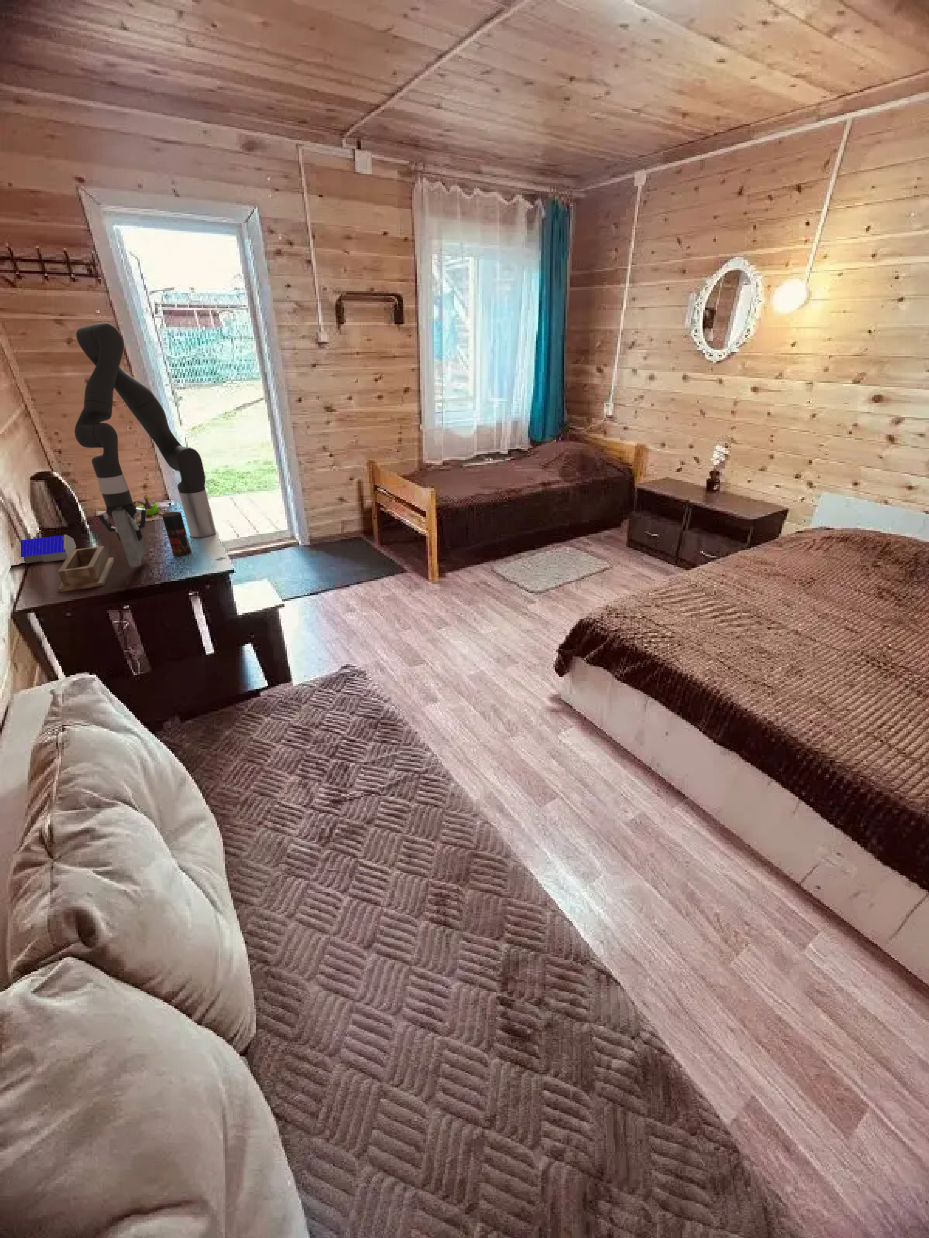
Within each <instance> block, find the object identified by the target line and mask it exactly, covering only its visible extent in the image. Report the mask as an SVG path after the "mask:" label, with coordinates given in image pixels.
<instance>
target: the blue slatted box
mask: <svg viewBox="0 0 929 1238" xmlns="http://www.w3.org/2000/svg"><path fill="white" fill-rule="evenodd" d="M20 540H21V557H24V561H25V562H26V564H30V563H37V562H44V563H48V562H56V561H65V560H66V559H67V557H68V555H69V554H70V552H71V551H72V550H75V549H76V548H77V545H76V542H75V539H74V538H73V537H71V536H69V535H68V534H62V535H56V536H55V535H54V536H46V537H44V536H43V537H37V538H34V537H33V538H30V537H26V539H20Z"/></svg>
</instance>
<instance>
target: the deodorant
mask: <svg viewBox="0 0 929 1238" xmlns="http://www.w3.org/2000/svg"><path fill="white" fill-rule="evenodd" d="M162 517H163V519H162V520H163V523H164V526H165V531H166V534H167V538H168V540H169V541H168V542H169V545H170V548H171V552H172V554H173V557H176V558H180V557H185V556H189V555H191V554H192V549H191V546H190V542H189V538H188V533H187V532H186V531H187V530H186V527H185V522H184V519H183V516H182V512H181V511H174V512H169V513H165V514H163V515H162Z"/></svg>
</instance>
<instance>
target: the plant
mask: <svg viewBox="0 0 929 1238" xmlns="http://www.w3.org/2000/svg"><path fill="white" fill-rule="evenodd" d="M143 499H144V500H145V502H143V501H139V500H135V501H133V504H134V505H135V506H136V503H139V506H137V508H140V509H143V508H145V509H146V523H148V522H147V521H152V520H156V521H161V520H163V519H162V518H159V517H162V515H163V513H164V514H165V513H169V512H175V511H174V510H168V507H162V506H161V505H158V504H157V502H155V503H153V504H150V502H149V500H150V496H149V495H147V494H145V495H144V496H143ZM159 508H160V509H159ZM163 508H165V509H163ZM159 510H165V511H164V512H162V511H159ZM136 517H137V520H138V522H141V515H139V513H138V512H137V511H136ZM160 519H161V520H160ZM152 522H153V521H152Z"/></svg>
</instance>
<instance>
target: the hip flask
mask: <svg viewBox="0 0 929 1238" xmlns="http://www.w3.org/2000/svg"><path fill="white" fill-rule="evenodd" d="M115 508H116V510H113V511H112V516H113V518H112V519H113V521H114V526H115V525H116V528H117V531H118V534H119V537H120V539H121V542H120V543H121V544H122V548H123V551H124V553H125V557H126V559H127V563H128V566H129V567H130V568H137V567H140V566H141V565H142V564H141V562H142V560H143V558H144V556H145V555H146V554H147V553H148V548H147V545H146V542H145V539H144V537H143V538H142V539H141V541H138V538H137V535H136V532H135V530H136V529H135V528H134V527H133V525H132V524H131V523H130V521H129V520H128V518H127V516H126V513H125V509H122V507H115ZM134 517H135V519H136V521H137V522H138V520H137V517H136V513H135V515H134ZM138 524H140V523H138Z"/></svg>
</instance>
